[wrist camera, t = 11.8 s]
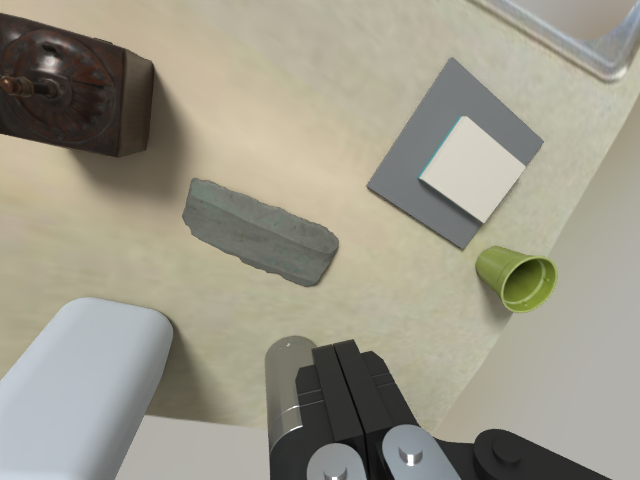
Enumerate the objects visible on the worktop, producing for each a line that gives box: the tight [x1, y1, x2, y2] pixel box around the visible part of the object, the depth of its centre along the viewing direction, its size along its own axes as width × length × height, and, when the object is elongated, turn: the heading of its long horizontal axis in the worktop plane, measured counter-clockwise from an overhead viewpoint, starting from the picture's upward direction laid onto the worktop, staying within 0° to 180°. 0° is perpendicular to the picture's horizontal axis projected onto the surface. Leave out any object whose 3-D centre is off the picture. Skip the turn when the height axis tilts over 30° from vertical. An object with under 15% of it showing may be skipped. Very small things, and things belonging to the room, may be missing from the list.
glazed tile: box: [417, 116, 526, 223], centre depth 49 cm, size 2×10×13 cm
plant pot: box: [476, 246, 558, 313], centre depth 53 cm, size 9×9×9 cm
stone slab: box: [182, 178, 338, 286], centre depth 48 cm, size 22×3×10 cm
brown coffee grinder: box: [0, 13, 154, 158], centre depth 30 cm, size 16×11×18 cm
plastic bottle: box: [0, 297, 173, 480], centre depth 36 cm, size 15×15×28 cm
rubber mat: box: [366, 57, 544, 249], centre depth 49 cm, size 20×20×1 cm
